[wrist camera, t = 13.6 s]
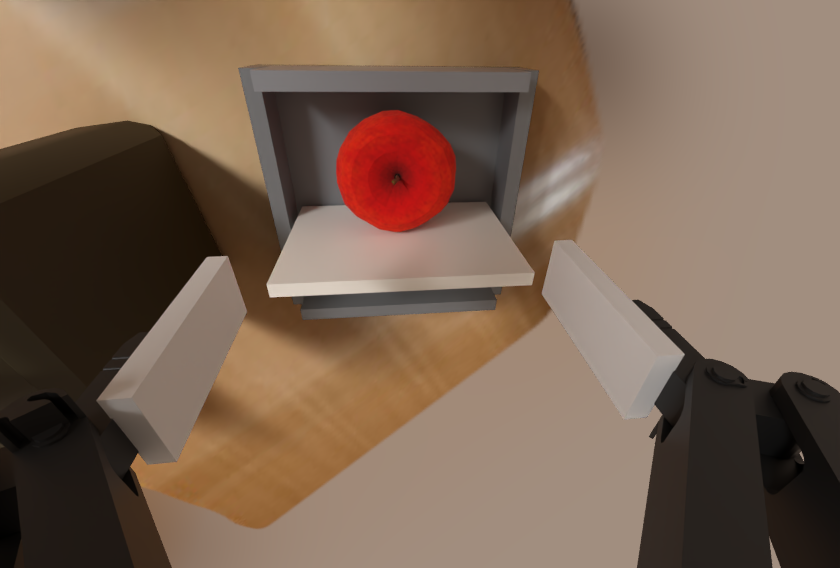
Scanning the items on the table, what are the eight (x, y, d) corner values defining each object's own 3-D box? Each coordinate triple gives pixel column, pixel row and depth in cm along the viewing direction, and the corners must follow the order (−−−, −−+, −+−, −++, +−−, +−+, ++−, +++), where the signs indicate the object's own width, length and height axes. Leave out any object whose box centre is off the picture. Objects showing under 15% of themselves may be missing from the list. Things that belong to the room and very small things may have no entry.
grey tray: (256, 64, 28) (225, 70, 22) (518, 67, 30) (552, 73, 24) (301, 279, 39) (288, 320, 33) (489, 271, 41) (507, 309, 35)
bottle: (159, 115, 29) (-378, 291, 8) (238, 277, 38) (73, 554, 17) (60, 128, 29) (-737, 343, 8) (163, 288, 38) (-93, 581, 17)
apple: (450, 105, 30) (470, 122, 23) (437, 205, 35) (451, 242, 28) (340, 95, 29) (330, 110, 22) (343, 200, 33) (335, 238, 27)
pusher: (302, 206, 33) (266, 284, 22) (485, 201, 35) (534, 272, 24) (312, 262, 36) (285, 353, 26) (479, 255, 38) (519, 339, 27)
